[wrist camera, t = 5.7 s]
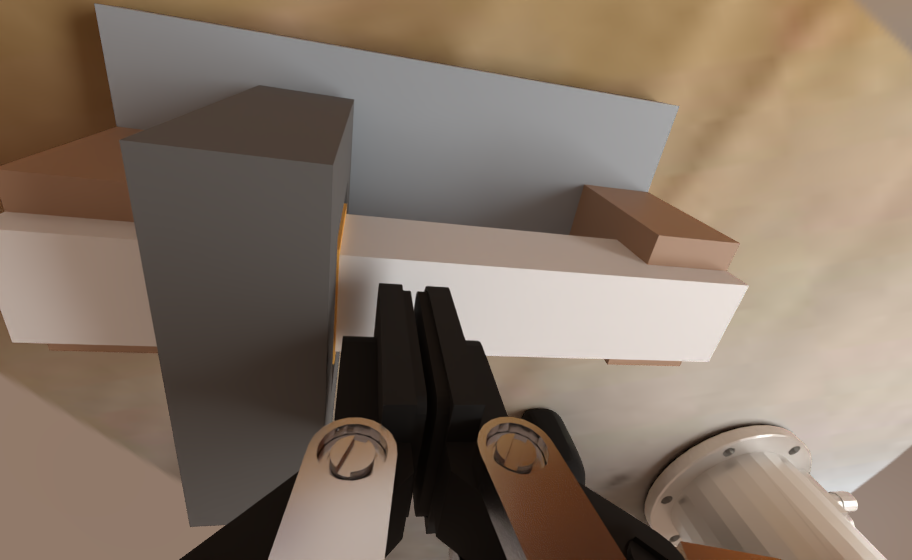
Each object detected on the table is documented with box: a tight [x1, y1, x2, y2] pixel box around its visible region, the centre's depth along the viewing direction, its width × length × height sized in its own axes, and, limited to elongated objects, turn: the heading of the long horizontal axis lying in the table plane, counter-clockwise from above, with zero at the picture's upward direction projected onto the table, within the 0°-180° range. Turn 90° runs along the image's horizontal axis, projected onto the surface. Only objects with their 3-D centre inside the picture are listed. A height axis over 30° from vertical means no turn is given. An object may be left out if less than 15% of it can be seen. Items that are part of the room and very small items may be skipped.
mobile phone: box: [522, 409, 585, 486], centre depth 28 cm, size 5×3×15 cm
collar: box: [119, 85, 354, 527], centre depth 13 cm, size 3×9×9 cm, turn 171°
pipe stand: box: [0, 3, 749, 366], centre depth 16 cm, size 20×12×8 cm, turn 81°
